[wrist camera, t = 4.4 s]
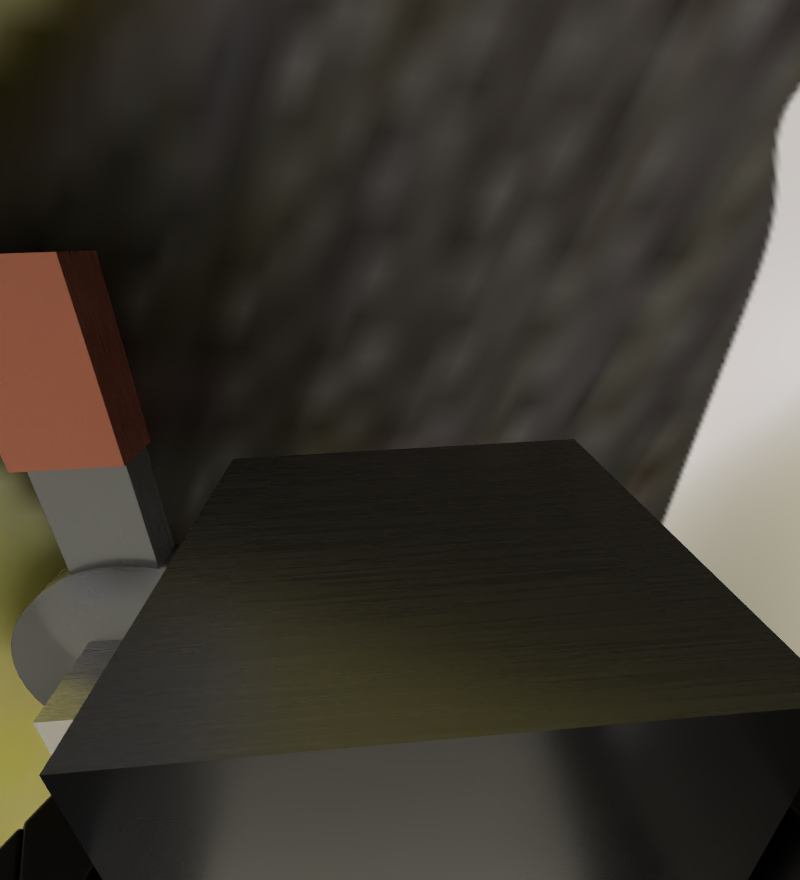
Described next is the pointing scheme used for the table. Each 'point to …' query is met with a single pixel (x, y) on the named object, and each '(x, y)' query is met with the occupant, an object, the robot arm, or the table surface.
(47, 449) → the ratchet
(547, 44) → the table surface
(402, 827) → the matte grey cube
